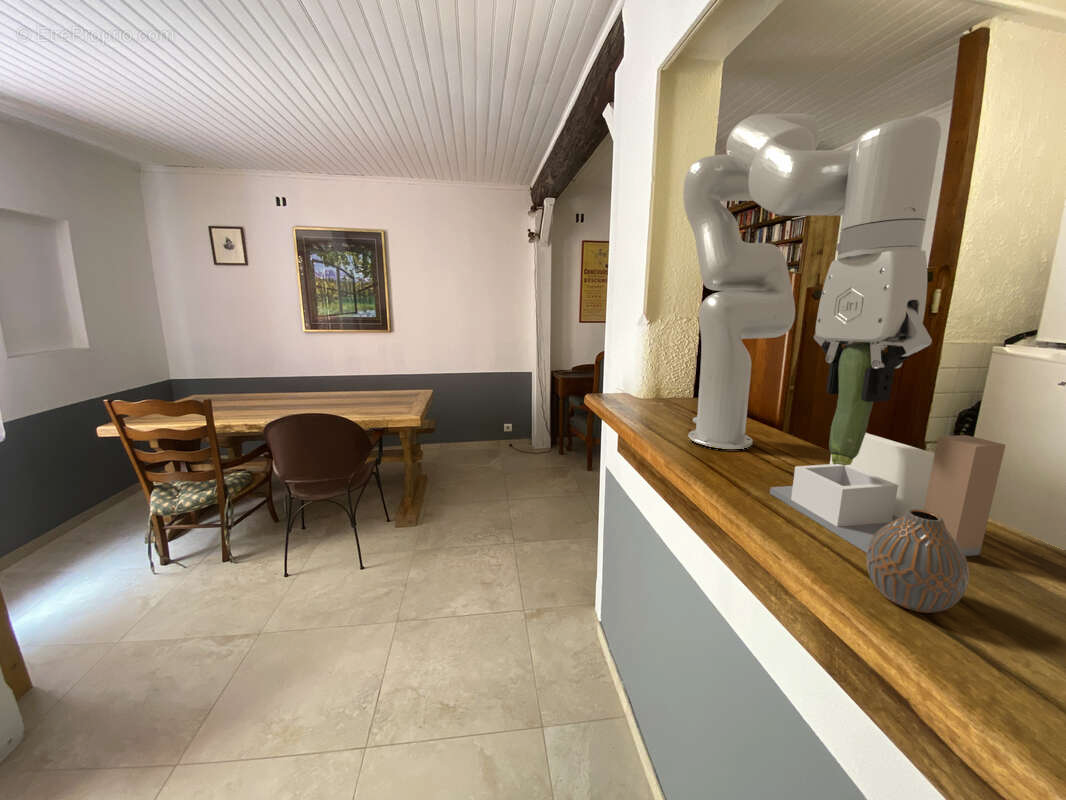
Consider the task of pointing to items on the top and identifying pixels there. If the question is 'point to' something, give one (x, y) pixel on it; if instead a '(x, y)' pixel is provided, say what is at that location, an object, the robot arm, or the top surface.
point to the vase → (918, 563)
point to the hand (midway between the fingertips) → (856, 395)
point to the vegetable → (850, 404)
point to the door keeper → (901, 488)
